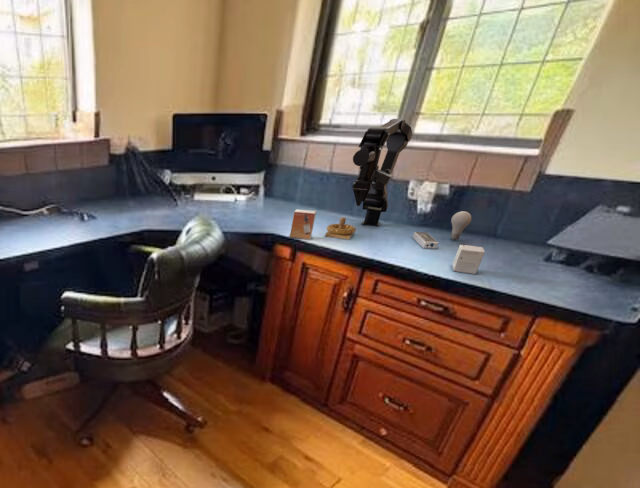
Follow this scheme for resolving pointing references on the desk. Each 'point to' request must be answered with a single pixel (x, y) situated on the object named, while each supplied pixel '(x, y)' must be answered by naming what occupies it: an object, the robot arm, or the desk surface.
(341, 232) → the ring
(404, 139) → the robot arm
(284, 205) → the desk surface
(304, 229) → the small box
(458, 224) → the lightbulb
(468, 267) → the product box
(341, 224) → the peg stand
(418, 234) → the multiport hub
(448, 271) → the desk surface
